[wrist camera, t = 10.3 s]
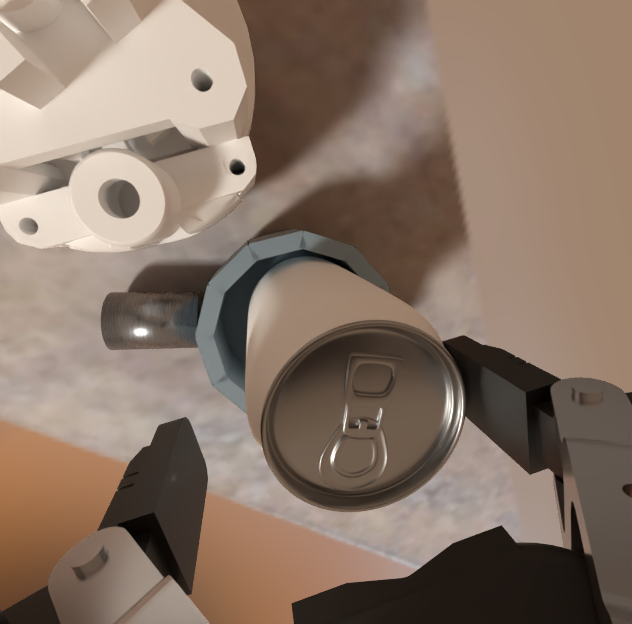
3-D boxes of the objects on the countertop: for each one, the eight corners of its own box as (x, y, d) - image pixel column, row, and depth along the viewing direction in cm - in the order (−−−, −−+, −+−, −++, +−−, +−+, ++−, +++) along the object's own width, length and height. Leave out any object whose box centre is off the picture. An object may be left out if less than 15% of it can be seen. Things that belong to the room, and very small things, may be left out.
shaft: (203, 287, 20) (195, 298, 18) (205, 337, 21) (198, 355, 18) (119, 287, 20) (97, 299, 17) (125, 339, 20) (104, 358, 18)
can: (242, 357, 21) (229, 527, 9) (255, 246, 19) (259, 287, 8) (347, 366, 22) (449, 524, 11) (367, 263, 21) (509, 318, 9)
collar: (236, 402, 23) (233, 445, 18) (186, 253, 20) (168, 263, 16) (379, 360, 24) (407, 391, 19) (350, 213, 21) (376, 212, 17)
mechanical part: (209, -49, 17) (124, -608, 5) (286, 207, 20) (331, 194, 9) (-39, 8, 16) (-784, -534, 4) (87, 267, 19) (-148, 337, 8)
